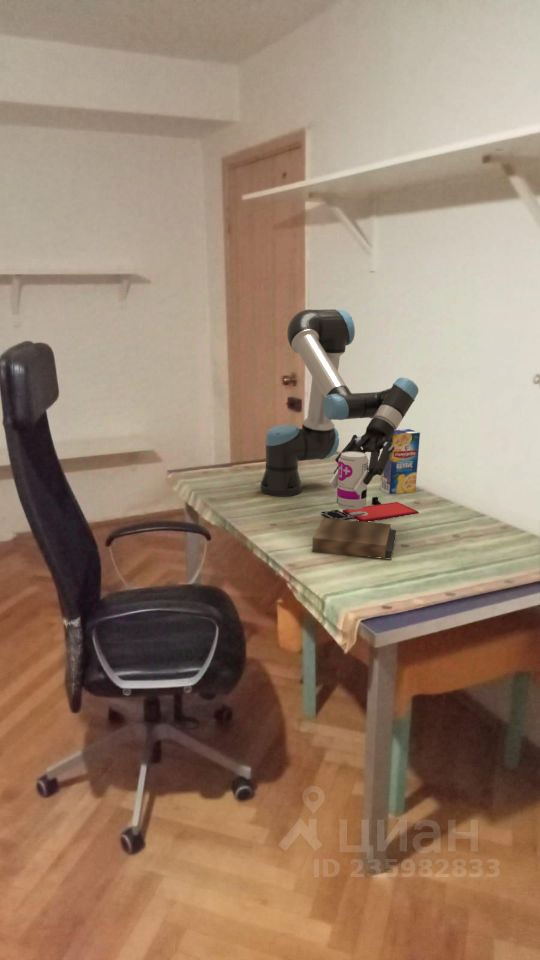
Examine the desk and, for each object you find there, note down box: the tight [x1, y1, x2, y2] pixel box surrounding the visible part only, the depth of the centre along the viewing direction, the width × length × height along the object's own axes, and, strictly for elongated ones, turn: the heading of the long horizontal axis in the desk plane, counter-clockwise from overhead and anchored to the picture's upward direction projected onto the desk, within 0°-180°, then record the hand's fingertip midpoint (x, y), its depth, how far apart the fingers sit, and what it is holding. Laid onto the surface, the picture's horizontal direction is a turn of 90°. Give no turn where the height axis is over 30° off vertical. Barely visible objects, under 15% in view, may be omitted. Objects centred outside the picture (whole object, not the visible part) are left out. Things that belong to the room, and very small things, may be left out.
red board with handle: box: [320, 496, 420, 522], centre depth 219 cm, size 30×3×15 cm
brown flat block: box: [311, 517, 397, 559], centre depth 191 cm, size 22×18×4 cm
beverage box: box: [379, 428, 421, 495], centre depth 243 cm, size 7×11×22 cm, turn 111°
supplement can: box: [336, 452, 369, 510], centre depth 187 cm, size 8×8×15 cm
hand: (344, 488), depth 185 cm, fingers closed on supplement can, 8 cm apart
